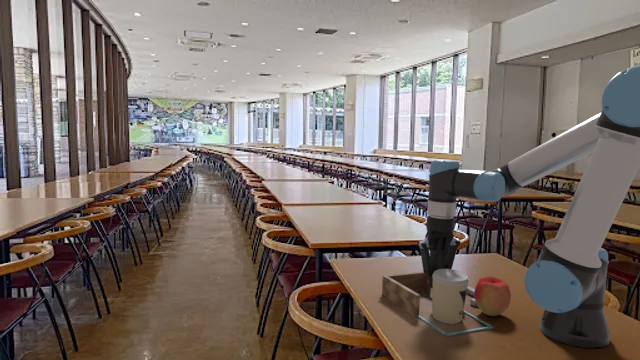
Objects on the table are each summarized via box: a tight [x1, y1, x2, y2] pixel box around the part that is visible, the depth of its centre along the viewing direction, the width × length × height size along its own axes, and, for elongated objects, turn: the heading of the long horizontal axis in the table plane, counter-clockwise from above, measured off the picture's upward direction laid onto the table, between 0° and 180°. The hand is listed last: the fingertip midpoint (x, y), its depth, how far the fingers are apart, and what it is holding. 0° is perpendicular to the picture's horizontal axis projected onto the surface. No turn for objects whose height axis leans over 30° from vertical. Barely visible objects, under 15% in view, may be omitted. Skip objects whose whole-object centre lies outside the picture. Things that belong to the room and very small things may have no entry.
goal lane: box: [416, 309, 495, 337], centre depth 117 cm, size 12×15×1 cm
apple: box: [473, 276, 512, 317], centre depth 122 cm, size 10×10×10 cm
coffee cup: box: [431, 268, 470, 325], centre depth 119 cm, size 9×9×12 cm
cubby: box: [381, 271, 431, 318], centre depth 131 cm, size 18×16×6 cm
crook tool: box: [466, 285, 478, 308], centre depth 138 cm, size 18×7×2 cm, turn 19°
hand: (435, 298), depth 124 cm, fingers closed
